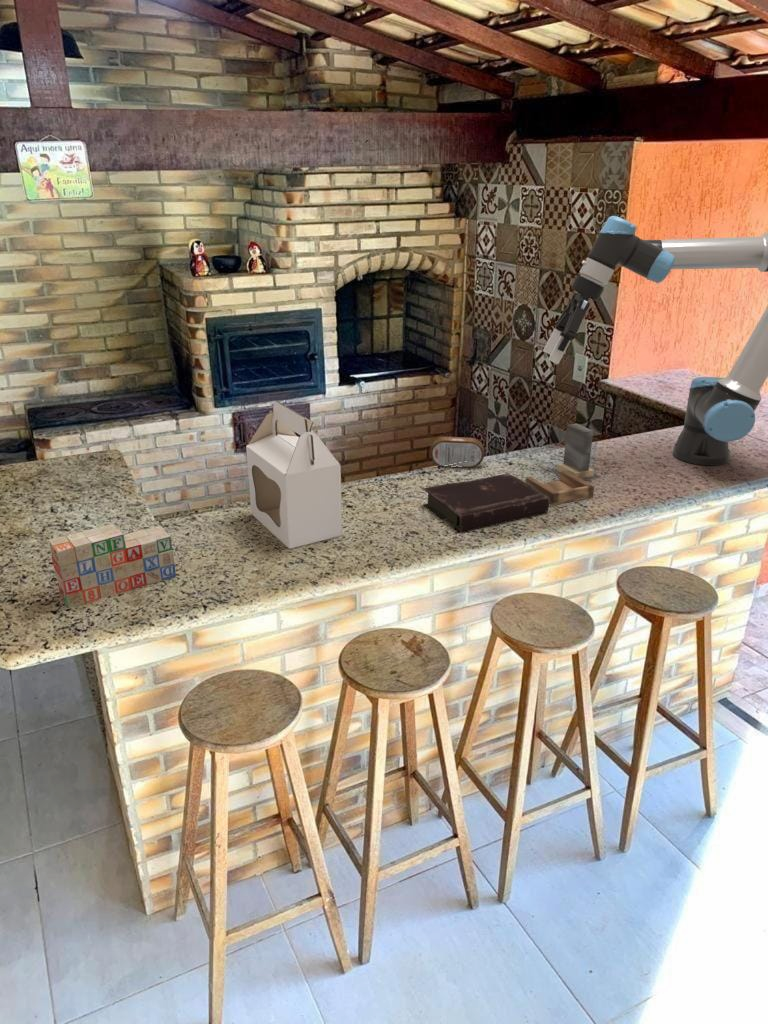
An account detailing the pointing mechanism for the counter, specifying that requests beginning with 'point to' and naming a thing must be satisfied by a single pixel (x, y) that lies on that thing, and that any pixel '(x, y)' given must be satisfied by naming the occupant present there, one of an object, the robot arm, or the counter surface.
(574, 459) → the grey tall block
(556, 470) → the mat
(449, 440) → the tin
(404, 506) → the counter surface
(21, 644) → the counter surface
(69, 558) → the stack of blocks
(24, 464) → the counter surface
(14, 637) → the counter surface
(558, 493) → the tray
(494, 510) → the diary
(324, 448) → the gable box
